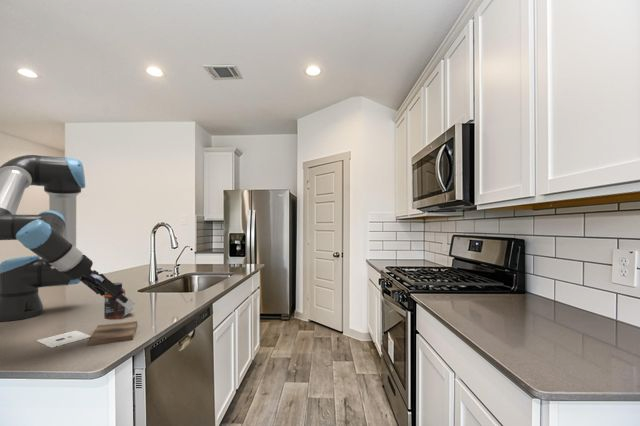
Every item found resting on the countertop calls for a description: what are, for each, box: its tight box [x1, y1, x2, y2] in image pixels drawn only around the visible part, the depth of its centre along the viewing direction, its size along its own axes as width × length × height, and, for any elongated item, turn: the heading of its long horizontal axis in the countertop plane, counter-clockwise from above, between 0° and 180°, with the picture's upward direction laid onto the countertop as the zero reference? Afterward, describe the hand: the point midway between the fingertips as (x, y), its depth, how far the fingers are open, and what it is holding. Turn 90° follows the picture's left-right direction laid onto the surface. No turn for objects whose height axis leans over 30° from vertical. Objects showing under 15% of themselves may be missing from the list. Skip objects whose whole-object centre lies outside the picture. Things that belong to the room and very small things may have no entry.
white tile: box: [35, 330, 91, 349], centre depth 104 cm, size 11×11×1 cm
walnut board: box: [87, 320, 138, 347], centre depth 108 cm, size 16×12×2 cm
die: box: [120, 296, 134, 319], centre depth 129 cm, size 8×9×10 cm
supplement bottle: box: [103, 282, 126, 320], centre depth 108 cm, size 6×6×11 cm
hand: (126, 305), depth 112 cm, fingers closed on supplement bottle, 6 cm apart
